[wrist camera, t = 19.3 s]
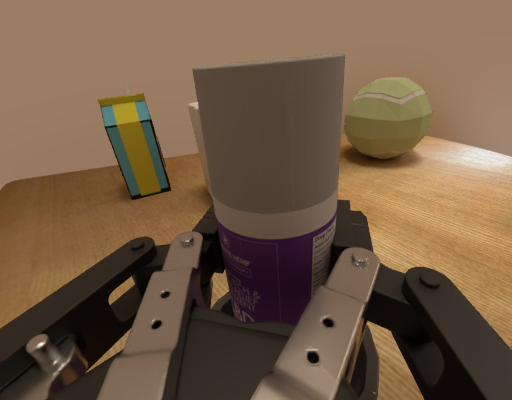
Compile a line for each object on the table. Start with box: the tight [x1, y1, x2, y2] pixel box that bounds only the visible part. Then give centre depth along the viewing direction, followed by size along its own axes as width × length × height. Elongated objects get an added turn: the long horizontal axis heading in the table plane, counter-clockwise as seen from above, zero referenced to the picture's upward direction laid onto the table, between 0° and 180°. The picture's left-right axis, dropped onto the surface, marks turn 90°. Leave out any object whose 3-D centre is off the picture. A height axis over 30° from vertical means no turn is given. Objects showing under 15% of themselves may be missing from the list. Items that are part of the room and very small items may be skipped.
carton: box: [98, 86, 171, 200], centre depth 46 cm, size 7×8×18 cm
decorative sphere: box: [344, 77, 433, 160], centre depth 51 cm, size 15×15×15 cm
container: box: [193, 54, 345, 325], centre depth 11 cm, size 5×5×15 cm
